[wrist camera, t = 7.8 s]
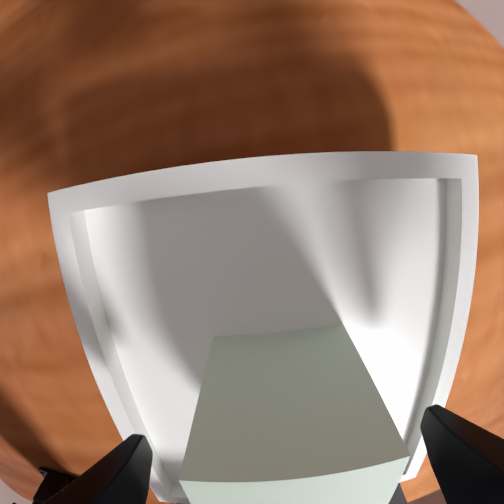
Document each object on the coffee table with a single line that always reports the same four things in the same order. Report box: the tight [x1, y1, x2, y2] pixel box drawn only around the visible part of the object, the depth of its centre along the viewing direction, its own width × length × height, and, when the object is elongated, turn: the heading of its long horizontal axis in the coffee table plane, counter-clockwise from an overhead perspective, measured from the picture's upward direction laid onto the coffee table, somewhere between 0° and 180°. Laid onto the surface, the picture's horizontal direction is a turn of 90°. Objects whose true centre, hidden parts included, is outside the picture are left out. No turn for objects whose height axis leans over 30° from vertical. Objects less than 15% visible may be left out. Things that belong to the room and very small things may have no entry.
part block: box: [179, 325, 410, 504], centre depth 8 cm, size 4×4×6 cm
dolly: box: [47, 151, 479, 504], centre depth 11 cm, size 17×14×8 cm
